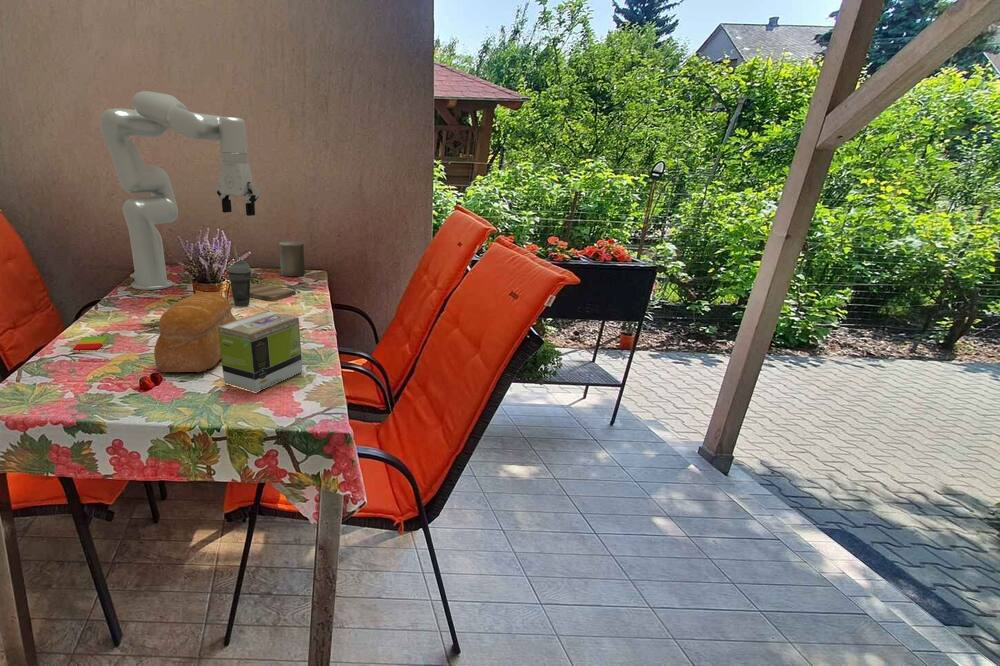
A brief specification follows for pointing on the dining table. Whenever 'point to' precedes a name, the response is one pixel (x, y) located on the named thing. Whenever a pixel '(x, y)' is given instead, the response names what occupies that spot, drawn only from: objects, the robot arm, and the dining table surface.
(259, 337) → the tea box
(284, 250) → the pillar candle
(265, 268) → the dining table surface
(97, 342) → the popsicle
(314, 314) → the dining table surface
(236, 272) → the beverage cup
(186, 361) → the bread
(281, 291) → the walnut board
